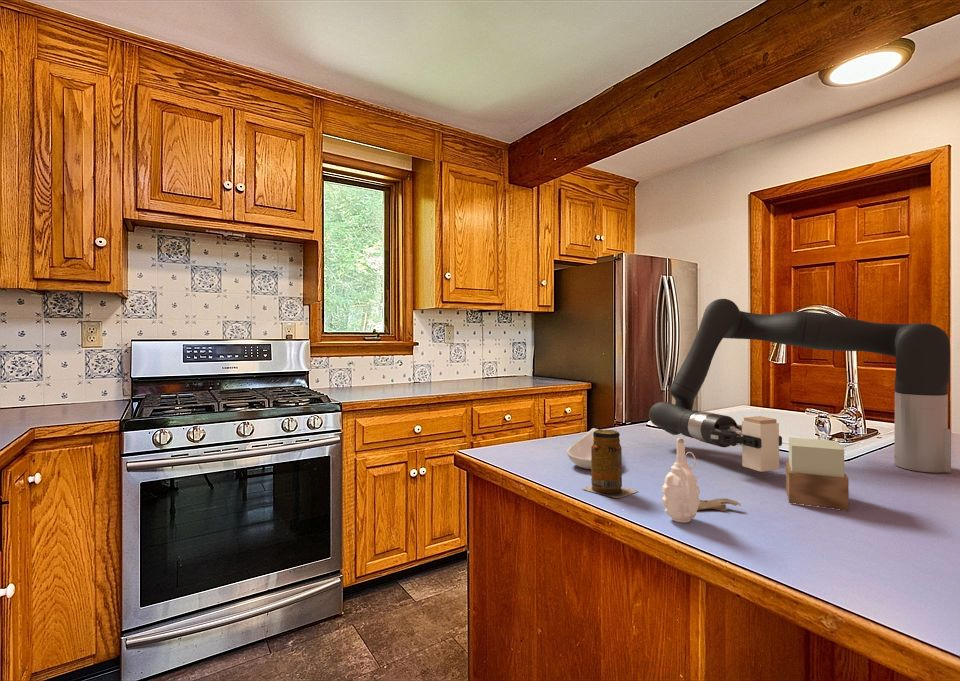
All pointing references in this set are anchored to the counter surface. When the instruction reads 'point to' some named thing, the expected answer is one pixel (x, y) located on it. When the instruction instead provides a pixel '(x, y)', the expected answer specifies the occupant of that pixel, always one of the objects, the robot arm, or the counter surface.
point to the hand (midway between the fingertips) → (770, 442)
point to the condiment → (607, 465)
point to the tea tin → (769, 436)
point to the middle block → (816, 457)
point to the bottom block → (817, 490)
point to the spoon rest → (582, 450)
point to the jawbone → (716, 504)
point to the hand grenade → (681, 488)
